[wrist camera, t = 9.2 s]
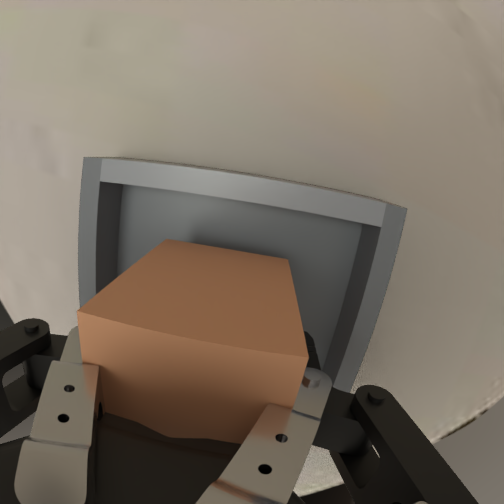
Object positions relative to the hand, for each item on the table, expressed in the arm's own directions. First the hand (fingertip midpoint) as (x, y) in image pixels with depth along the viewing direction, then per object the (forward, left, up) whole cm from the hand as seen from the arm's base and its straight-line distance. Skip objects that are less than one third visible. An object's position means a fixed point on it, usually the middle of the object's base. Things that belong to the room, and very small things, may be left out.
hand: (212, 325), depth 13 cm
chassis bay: (0, 0, -5) cm, 5 cm away
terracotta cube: (0, 0, -1) cm, 1 cm away
